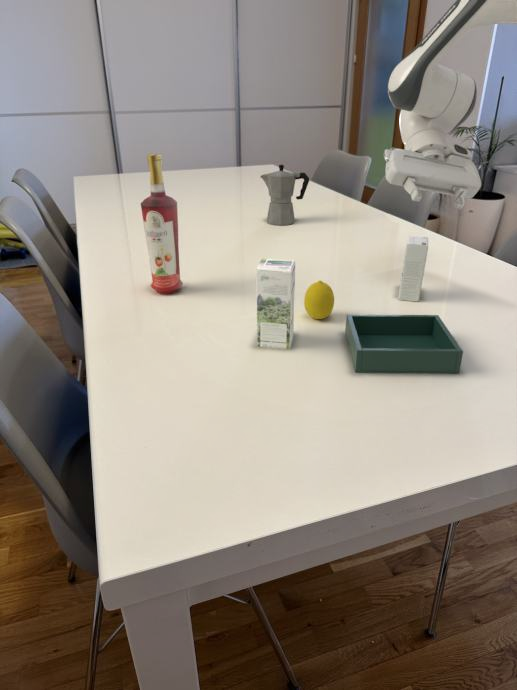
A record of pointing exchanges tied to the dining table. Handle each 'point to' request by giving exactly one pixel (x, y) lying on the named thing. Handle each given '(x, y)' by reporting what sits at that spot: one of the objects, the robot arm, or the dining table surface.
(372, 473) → the dining table surface
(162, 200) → the liquor
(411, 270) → the cosmetic box
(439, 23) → the robot arm
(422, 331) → the bin
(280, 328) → the syrup box
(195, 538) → the dining table surface
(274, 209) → the coffeepot
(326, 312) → the lemon
